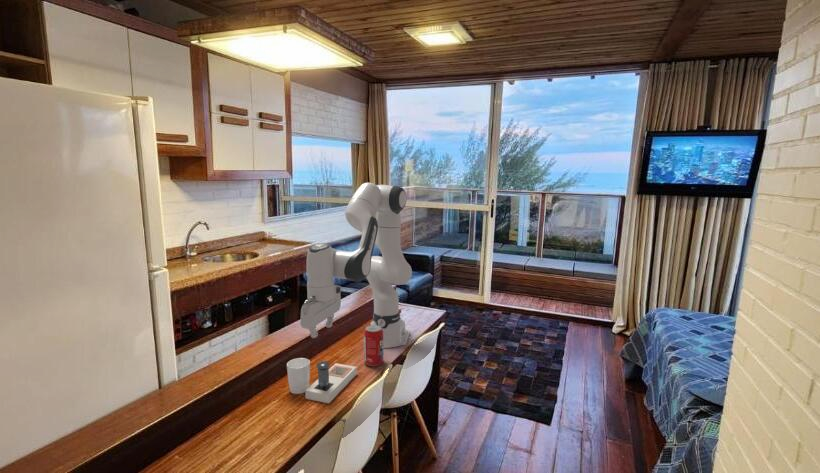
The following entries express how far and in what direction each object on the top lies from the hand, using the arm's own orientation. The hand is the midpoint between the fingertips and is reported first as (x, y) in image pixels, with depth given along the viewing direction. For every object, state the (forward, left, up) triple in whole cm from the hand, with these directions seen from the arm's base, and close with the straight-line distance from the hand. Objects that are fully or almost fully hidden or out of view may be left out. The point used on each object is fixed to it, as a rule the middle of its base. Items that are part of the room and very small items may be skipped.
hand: (322, 331), depth 138 cm
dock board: (-6, 0, -23) cm, 24 cm away
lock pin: (0, 0, -23) cm, 23 cm away
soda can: (-27, +7, -23) cm, 36 cm away
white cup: (0, -10, -23) cm, 25 cm away
